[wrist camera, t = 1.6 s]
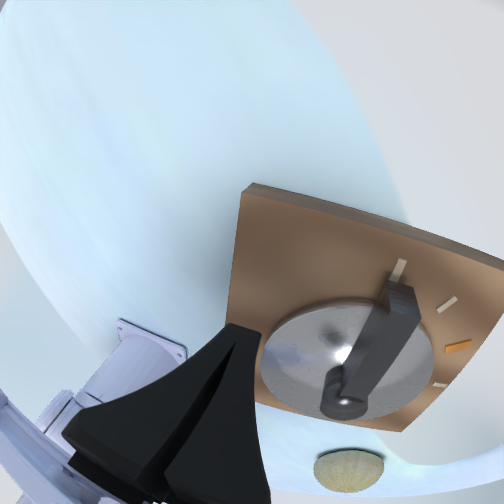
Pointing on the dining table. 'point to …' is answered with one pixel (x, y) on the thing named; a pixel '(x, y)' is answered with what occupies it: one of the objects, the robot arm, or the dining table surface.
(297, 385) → the dial
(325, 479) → the sea urchin shell
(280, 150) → the dining table surface
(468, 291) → the dial base
